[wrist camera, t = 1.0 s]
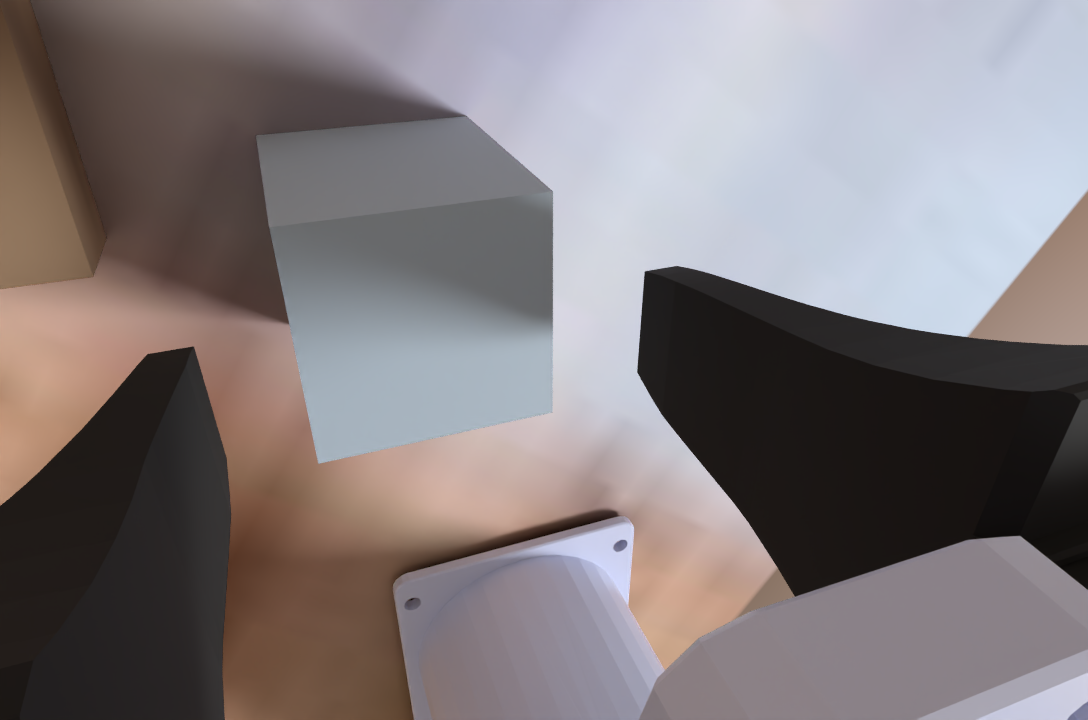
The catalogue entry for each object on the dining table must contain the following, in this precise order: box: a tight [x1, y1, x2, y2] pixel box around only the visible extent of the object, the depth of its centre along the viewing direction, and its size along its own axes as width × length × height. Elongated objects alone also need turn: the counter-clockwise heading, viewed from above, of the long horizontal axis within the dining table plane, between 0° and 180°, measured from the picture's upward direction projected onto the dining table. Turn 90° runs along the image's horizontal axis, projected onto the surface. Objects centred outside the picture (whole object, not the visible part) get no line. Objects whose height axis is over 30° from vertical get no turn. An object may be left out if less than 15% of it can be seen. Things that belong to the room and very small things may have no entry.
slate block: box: [256, 116, 553, 464], centre depth 15 cm, size 4×4×6 cm
